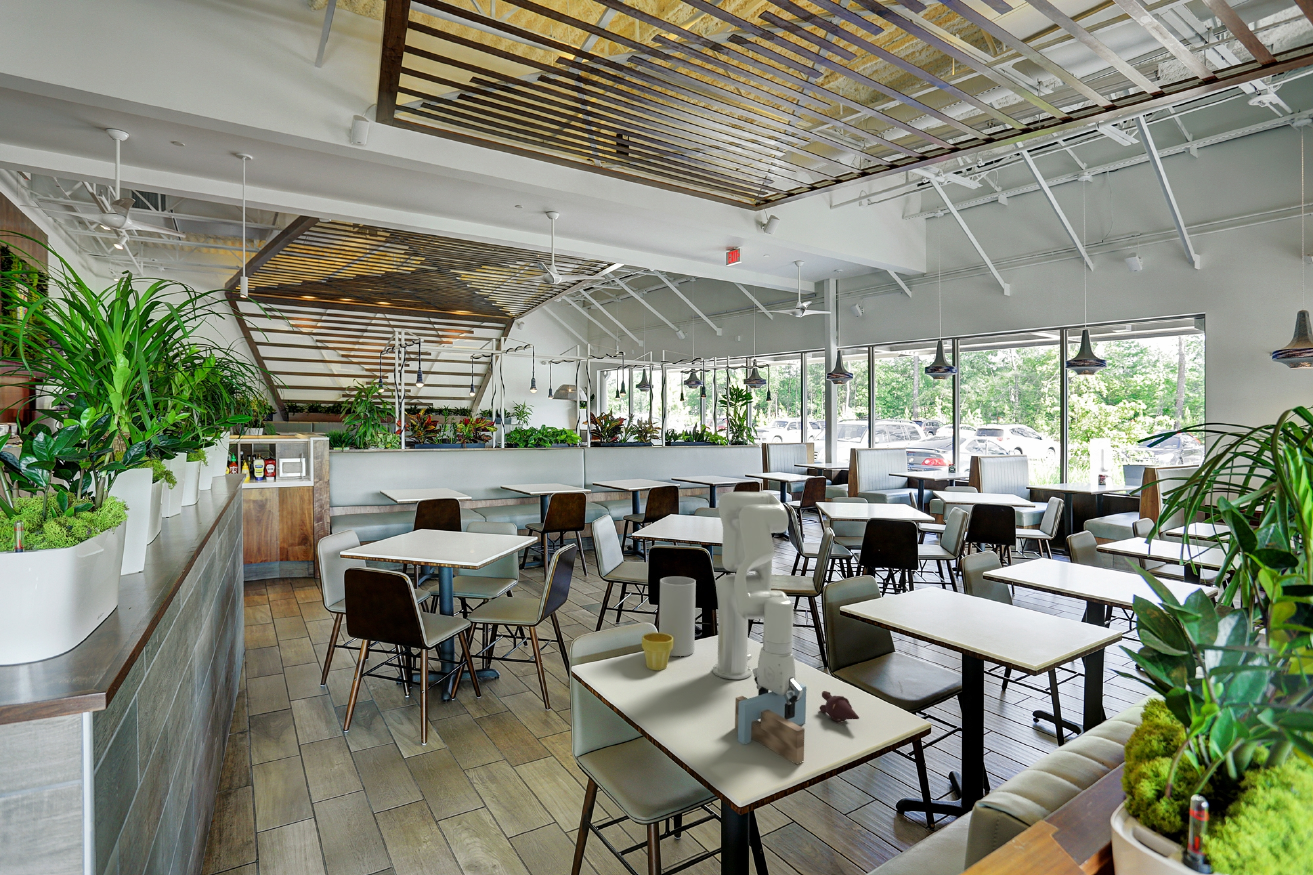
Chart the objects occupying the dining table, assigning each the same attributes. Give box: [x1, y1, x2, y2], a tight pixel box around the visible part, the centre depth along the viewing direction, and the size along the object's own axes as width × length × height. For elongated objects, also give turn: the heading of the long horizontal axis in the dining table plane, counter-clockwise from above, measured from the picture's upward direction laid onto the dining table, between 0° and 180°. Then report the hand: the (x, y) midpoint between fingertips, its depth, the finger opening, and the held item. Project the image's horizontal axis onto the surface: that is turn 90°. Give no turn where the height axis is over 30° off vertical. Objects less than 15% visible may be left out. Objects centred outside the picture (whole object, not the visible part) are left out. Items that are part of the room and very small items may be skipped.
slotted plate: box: [737, 683, 807, 745], centre depth 170 cm, size 22×2×10 cm, turn 124°
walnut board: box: [734, 695, 805, 765], centre depth 163 cm, size 22×2×8 cm, turn 34°
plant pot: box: [641, 632, 673, 671], centre depth 214 cm, size 10×10×10 cm
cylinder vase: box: [658, 576, 697, 658], centre depth 228 cm, size 12×12×25 cm
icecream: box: [819, 690, 860, 723], centre depth 177 cm, size 7×7×15 cm
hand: (776, 710), depth 170 cm, fingers open, 9 cm apart
